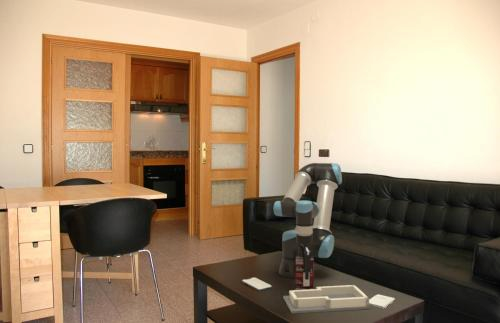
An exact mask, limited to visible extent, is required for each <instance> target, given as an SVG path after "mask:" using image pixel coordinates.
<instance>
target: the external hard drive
mask: <svg viewBox="0 0 500 323" xmlns="http://www.w3.org/2000/svg"><path fill="white" fill-rule="evenodd" d="M394 300H395V301H396V298H395V297H393V296H392V297H391V296H388V295H383V294H376V295H373V297H371V298H369V307H370V306H371V307H373V306H374V307H373V308H377V307H378V309H381V308H382V309H381V310H385V309H386V308H387V306H388V305H389V304H390V305H391V304H393V303H394V302H395V301H394ZM393 301H394V302H393ZM390 305H389V306H390ZM389 306H388V307H389ZM384 308H385V309H384Z"/></svg>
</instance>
